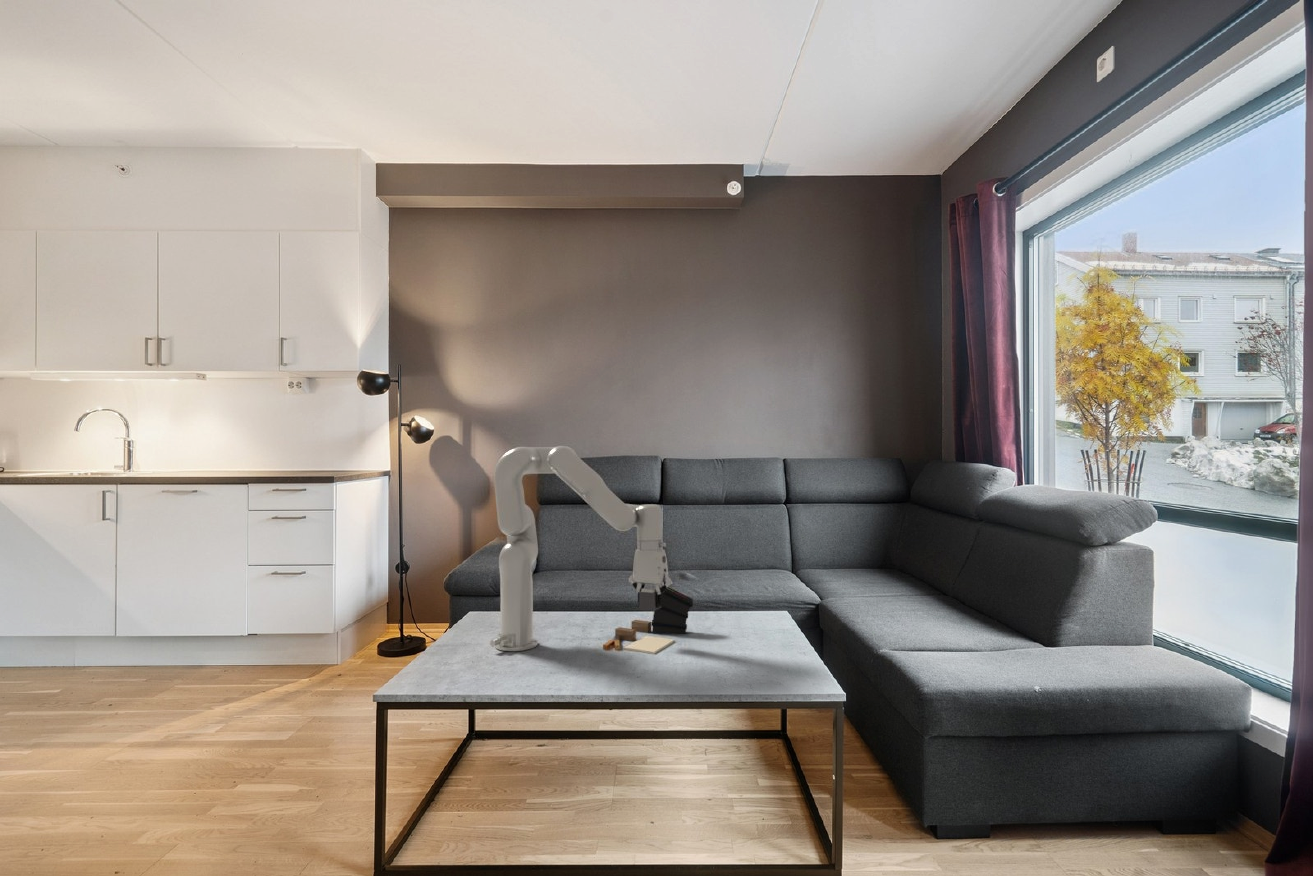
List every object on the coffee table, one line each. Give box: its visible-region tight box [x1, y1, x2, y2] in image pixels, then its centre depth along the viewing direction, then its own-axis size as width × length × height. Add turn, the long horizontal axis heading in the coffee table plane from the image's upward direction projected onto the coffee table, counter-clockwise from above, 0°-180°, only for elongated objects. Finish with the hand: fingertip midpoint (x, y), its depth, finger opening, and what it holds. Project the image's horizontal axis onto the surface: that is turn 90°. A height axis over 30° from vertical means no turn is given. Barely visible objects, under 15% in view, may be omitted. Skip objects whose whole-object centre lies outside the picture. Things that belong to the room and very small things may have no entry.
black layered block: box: [651, 584, 694, 635], centre depth 210 cm, size 4×13×15 cm, turn 87°
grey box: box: [638, 586, 662, 612], centre depth 196 cm, size 5×5×6 cm
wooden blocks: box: [614, 619, 652, 642], centre depth 207 cm, size 13×6×3 cm, turn 153°
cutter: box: [602, 635, 622, 651], centre depth 196 cm, size 11×5×1 cm, turn 173°
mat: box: [623, 635, 676, 655], centre depth 195 cm, size 14×10×1 cm
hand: (650, 605), depth 196 cm, fingers closed on grey box, 5 cm apart
